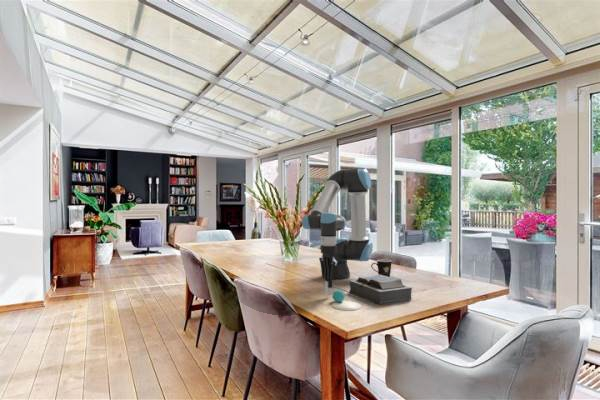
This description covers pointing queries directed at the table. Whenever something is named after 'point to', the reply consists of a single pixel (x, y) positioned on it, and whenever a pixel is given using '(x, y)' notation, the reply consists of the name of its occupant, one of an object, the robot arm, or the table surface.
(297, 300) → the table surface
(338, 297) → the ball
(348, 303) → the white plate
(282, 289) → the table surface
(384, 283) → the bible
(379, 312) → the table surface
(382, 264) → the coffee mug
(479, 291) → the table surface
